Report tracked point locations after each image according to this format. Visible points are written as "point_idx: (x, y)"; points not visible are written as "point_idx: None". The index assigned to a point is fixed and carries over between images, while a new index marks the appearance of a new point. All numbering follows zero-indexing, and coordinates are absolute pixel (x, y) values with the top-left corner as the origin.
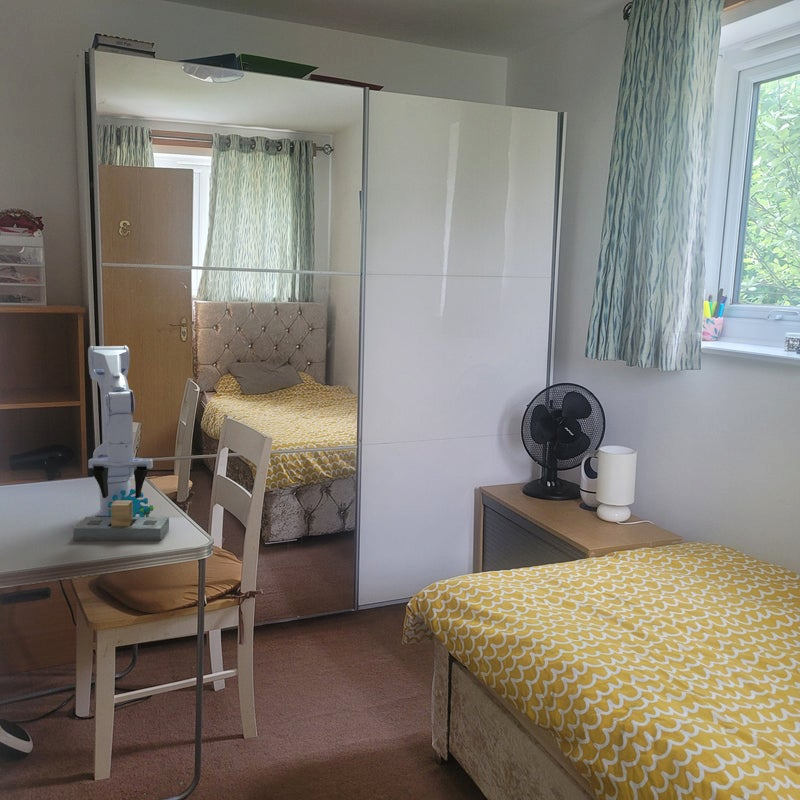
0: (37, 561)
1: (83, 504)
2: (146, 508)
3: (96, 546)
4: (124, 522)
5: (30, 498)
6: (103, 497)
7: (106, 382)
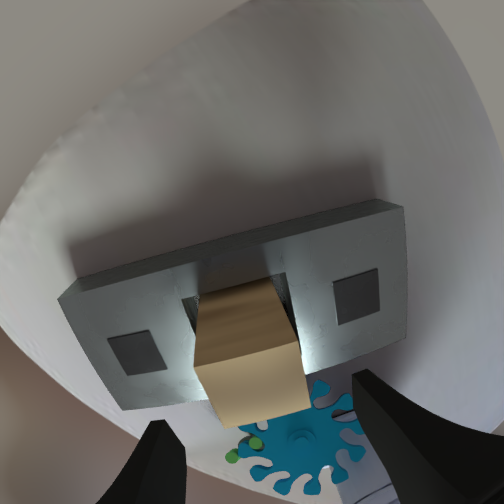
0: (367, 4)
1: None
2: (243, 450)
3: (267, 156)
4: (215, 308)
5: (497, 397)
6: (364, 370)
7: None
